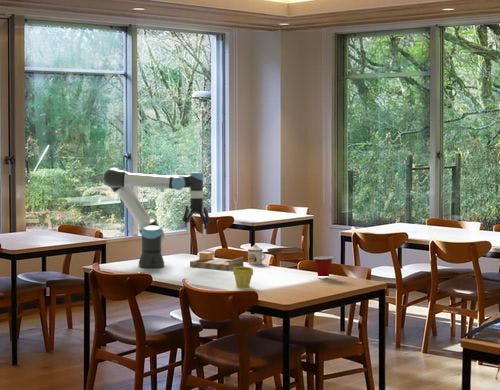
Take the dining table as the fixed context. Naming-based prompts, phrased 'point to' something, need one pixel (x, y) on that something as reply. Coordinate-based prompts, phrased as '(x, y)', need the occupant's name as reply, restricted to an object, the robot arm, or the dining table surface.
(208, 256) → the block
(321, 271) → the plastic cup
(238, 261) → the trap board
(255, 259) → the teacup with lid
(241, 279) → the plant pot
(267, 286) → the dining table surface
